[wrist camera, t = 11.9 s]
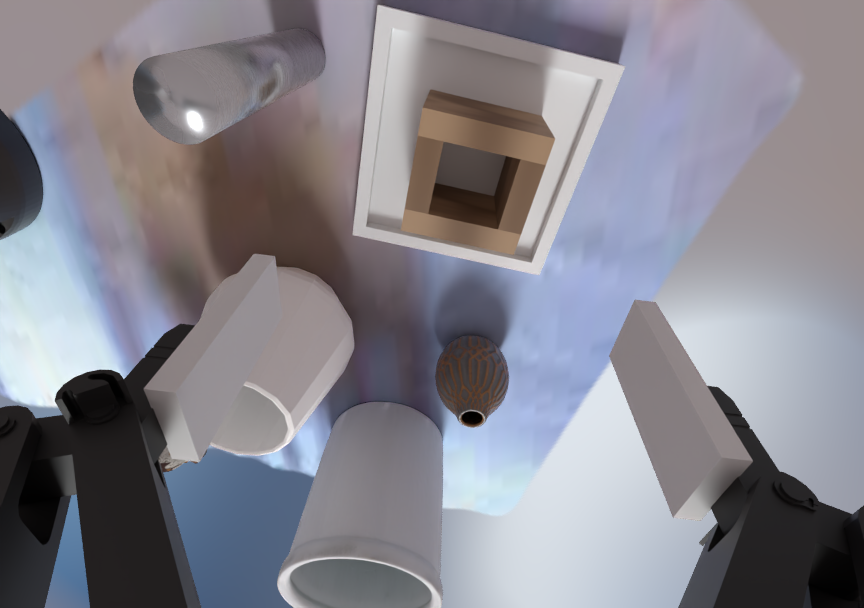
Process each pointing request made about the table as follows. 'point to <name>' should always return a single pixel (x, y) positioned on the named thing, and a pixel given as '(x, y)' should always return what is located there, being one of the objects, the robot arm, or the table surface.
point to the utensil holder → (371, 515)
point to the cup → (288, 366)
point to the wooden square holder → (466, 210)
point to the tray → (463, 166)
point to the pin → (223, 82)
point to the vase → (472, 379)
